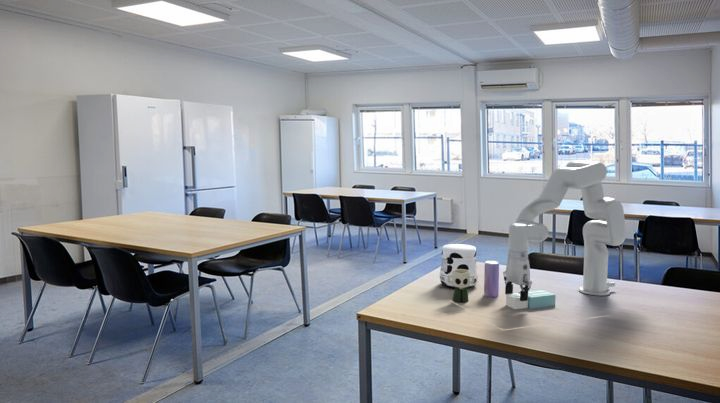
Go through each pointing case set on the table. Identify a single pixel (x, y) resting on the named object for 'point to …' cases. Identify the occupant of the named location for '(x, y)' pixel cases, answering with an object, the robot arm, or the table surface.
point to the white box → (515, 301)
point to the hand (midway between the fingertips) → (516, 297)
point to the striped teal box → (540, 299)
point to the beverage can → (491, 279)
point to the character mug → (460, 284)
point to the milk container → (458, 262)
